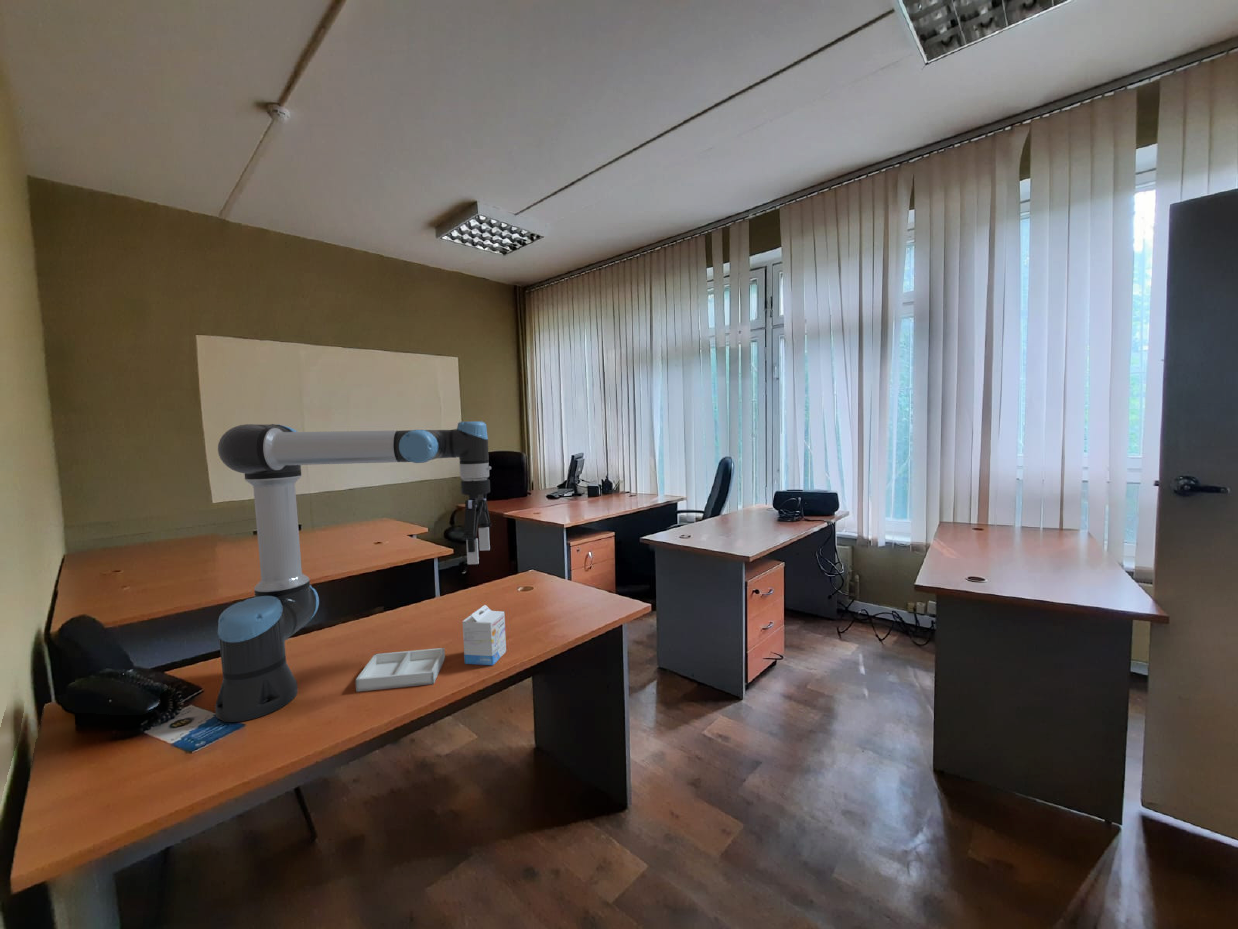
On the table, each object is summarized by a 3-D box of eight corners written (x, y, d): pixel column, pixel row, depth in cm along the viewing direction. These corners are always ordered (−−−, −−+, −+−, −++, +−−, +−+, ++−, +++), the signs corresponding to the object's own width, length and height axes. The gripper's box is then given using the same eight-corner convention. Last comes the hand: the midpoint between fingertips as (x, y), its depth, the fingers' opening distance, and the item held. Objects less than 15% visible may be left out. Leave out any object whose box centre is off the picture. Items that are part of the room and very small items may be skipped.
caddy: (356, 691, 114) (355, 680, 114) (375, 665, 127) (374, 654, 127) (433, 684, 117) (433, 672, 116) (444, 658, 130) (444, 647, 129)
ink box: (492, 666, 125) (490, 617, 124) (463, 664, 126) (461, 615, 125) (506, 651, 133) (504, 604, 132) (479, 649, 135) (477, 603, 134)
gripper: (478, 484, 115) (483, 569, 116) (498, 474, 140) (501, 544, 141) (447, 485, 114) (452, 571, 116) (472, 474, 139) (476, 545, 141)
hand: (479, 556), depth 129 cm, fingers open, 13 cm apart
